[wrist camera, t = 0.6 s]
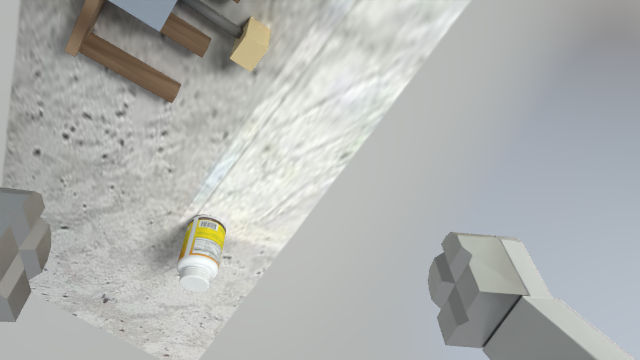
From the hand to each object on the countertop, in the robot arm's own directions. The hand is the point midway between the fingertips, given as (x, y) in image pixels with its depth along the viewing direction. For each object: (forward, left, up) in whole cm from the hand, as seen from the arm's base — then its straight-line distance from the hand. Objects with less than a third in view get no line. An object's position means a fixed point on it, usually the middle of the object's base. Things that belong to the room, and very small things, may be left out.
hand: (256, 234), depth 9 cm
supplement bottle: (+45, +15, -38) cm, 61 cm away
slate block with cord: (+15, -1, -38) cm, 41 cm away
